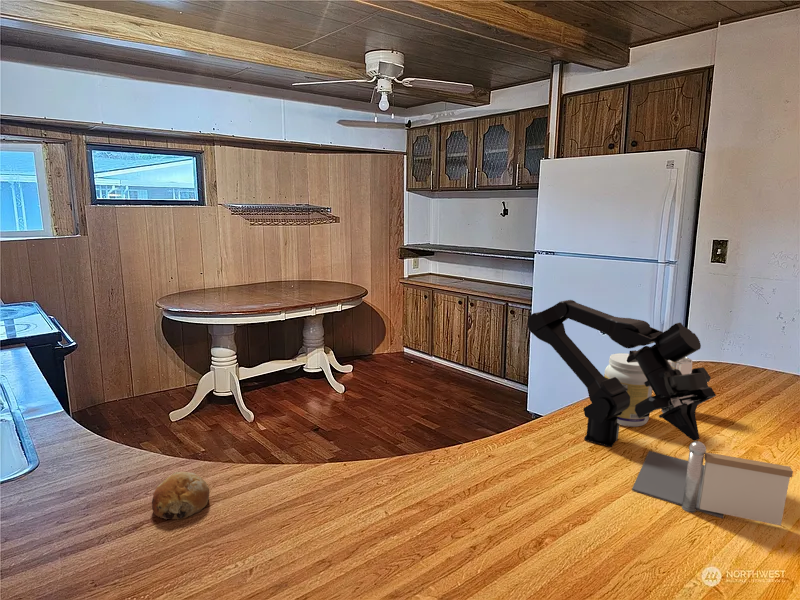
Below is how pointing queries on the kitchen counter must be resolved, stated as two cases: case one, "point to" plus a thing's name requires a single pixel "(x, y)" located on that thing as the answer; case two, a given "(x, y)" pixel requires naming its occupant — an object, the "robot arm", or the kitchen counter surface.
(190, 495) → the bread roll
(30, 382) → the kitchen counter surface
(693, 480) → the gate post
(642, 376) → the supplement tub
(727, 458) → the panel
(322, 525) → the kitchen counter surface
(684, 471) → the mat
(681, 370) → the beer glass
